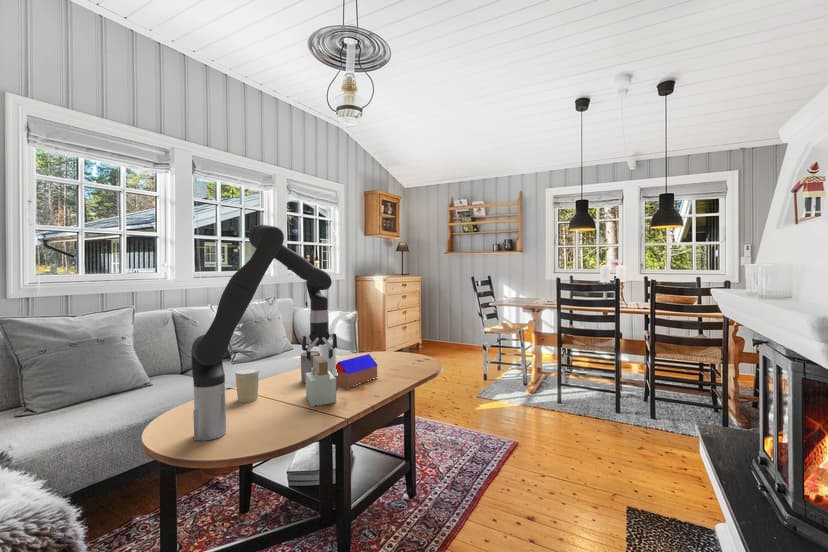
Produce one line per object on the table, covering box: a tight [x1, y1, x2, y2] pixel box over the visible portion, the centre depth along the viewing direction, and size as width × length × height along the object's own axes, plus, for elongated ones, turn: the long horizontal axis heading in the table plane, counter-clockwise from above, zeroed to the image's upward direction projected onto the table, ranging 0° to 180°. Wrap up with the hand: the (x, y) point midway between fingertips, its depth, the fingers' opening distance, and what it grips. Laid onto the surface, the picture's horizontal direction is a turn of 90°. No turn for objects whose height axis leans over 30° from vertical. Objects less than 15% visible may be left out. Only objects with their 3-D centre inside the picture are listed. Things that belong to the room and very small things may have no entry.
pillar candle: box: [299, 350, 320, 384], centre depth 193 cm, size 10×10×15 cm
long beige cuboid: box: [313, 355, 329, 376], centre depth 165 cm, size 4×14×5 cm, turn 24°
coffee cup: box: [234, 368, 260, 403], centre depth 167 cm, size 9×9×12 cm
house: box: [335, 353, 379, 388], centre depth 192 cm, size 12×20×12 cm, turn 142°
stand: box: [305, 368, 337, 407], centre depth 165 cm, size 10×14×12 cm
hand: (319, 359), depth 165 cm, fingers open, 8 cm apart
